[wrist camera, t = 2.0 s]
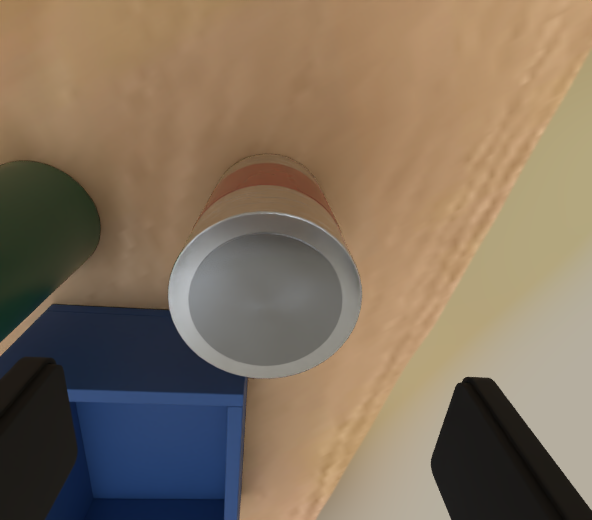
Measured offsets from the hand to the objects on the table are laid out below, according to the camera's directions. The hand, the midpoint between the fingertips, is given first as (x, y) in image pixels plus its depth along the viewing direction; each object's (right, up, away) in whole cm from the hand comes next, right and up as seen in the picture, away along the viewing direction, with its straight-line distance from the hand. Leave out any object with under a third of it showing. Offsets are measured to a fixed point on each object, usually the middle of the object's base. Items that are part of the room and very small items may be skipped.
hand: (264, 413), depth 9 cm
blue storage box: (-9, -8, +19) cm, 23 cm away
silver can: (-1, +7, +13) cm, 15 cm away
